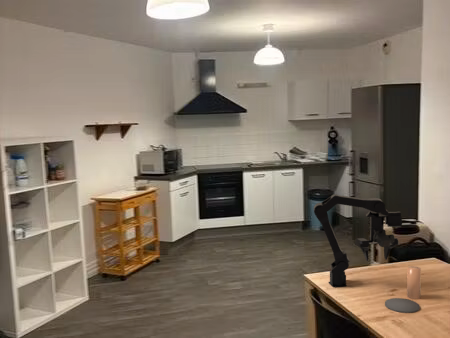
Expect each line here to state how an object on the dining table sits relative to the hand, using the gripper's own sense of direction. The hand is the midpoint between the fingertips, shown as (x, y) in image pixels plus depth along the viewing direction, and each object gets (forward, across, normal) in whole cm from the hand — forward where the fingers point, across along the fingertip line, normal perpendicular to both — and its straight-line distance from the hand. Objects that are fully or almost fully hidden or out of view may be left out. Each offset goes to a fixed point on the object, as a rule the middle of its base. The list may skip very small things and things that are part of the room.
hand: (376, 260), depth 203 cm
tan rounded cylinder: (+12, +8, -16) cm, 22 cm away
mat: (+12, -2, -24) cm, 27 cm away
